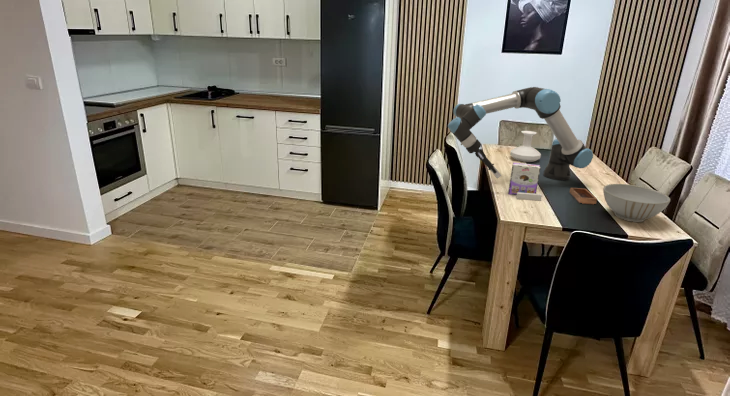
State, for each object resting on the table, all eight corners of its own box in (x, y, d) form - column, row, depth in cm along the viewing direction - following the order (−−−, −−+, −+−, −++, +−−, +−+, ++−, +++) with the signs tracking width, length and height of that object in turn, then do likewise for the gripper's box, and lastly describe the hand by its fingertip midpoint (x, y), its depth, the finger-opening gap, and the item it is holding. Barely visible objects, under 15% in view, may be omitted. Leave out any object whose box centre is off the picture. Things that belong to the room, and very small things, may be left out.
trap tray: (584, 193, 230) (585, 188, 229) (595, 204, 215) (597, 199, 214) (569, 192, 231) (570, 187, 230) (579, 203, 216) (580, 197, 215)
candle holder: (542, 159, 296) (547, 132, 289) (536, 165, 280) (541, 136, 273) (513, 154, 306) (517, 128, 299) (505, 160, 290) (510, 132, 283)
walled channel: (533, 190, 233) (534, 185, 232) (540, 200, 218) (542, 195, 217) (510, 188, 234) (511, 183, 233) (516, 199, 219) (517, 193, 218)
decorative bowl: (637, 232, 184) (644, 206, 180) (585, 210, 207) (590, 186, 203) (676, 224, 195) (684, 199, 190) (622, 203, 218) (628, 181, 213)
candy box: (535, 194, 227) (540, 164, 221) (535, 198, 221) (541, 167, 216) (508, 190, 231) (512, 161, 225) (507, 194, 225) (512, 164, 220)
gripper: (464, 145, 227) (491, 177, 231) (466, 151, 215) (495, 184, 219) (475, 136, 224) (502, 168, 229) (478, 141, 212) (507, 175, 217)
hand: (499, 176), depth 224 cm, fingers closed
